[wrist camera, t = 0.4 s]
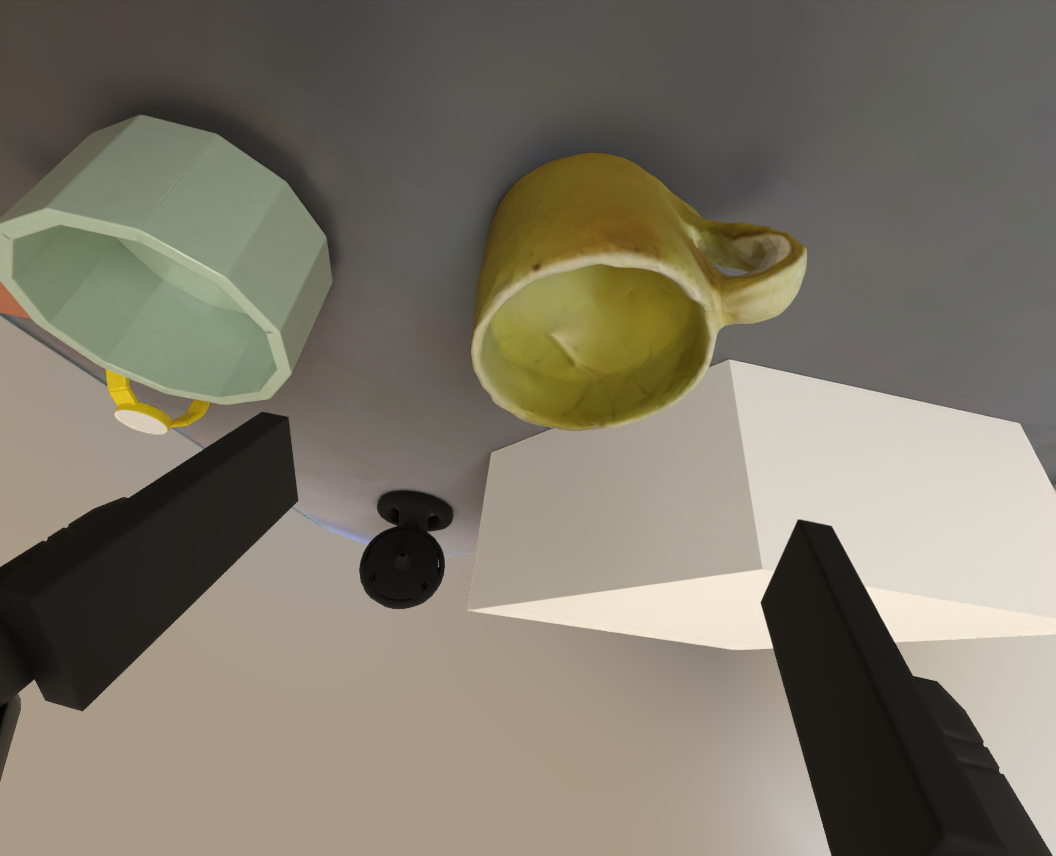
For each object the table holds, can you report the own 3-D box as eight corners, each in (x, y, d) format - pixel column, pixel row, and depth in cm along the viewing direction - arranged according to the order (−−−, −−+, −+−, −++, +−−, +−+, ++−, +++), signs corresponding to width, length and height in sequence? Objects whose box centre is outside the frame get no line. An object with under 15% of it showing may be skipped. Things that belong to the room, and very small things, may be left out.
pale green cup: (316, 157, 20) (258, 256, 17) (339, 332, 29) (304, 420, 25) (-52, 64, 19) (-195, 154, 15) (88, 278, 27) (15, 365, 24)
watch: (127, 316, 32) (71, 393, 28) (161, 310, 31) (107, 388, 28) (203, 377, 36) (163, 449, 33) (235, 373, 36) (196, 446, 32)
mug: (503, 366, 29) (501, 487, 21) (448, 172, 23) (416, 238, 15) (722, 320, 28) (809, 430, 20) (724, 102, 22) (849, 134, 14)
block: (961, 487, 39) (1033, 663, 32) (520, 500, 48) (504, 639, 42) (1109, 323, 25) (1291, 572, 18) (450, 385, 34) (409, 566, 28)
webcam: (379, 514, 54) (353, 611, 49) (375, 483, 48) (345, 591, 43) (452, 526, 55) (434, 622, 50) (457, 497, 49) (438, 604, 44)
